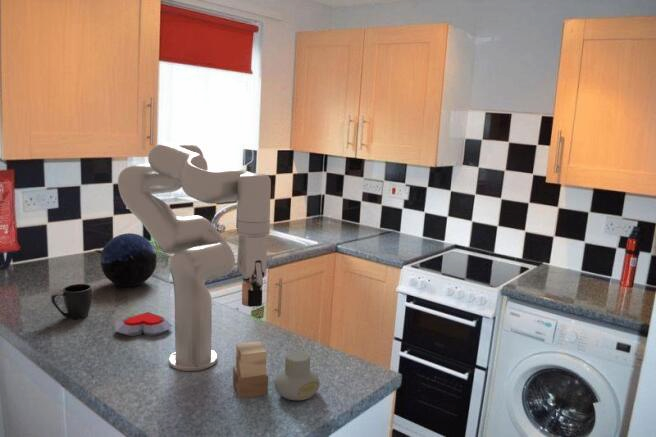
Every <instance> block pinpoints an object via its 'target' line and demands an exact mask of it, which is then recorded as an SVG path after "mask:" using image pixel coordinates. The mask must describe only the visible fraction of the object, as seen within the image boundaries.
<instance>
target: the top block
mask: <svg viewBox="0 0 656 437" xmlns="http://www.w3.org/2000/svg"><path fill="white" fill-rule="evenodd" d="M235 348H236V349H235V366H236V368H237V370H238V372H239V374H240V376H241V378H246V377H253V376H260V375H266V373H267V350H266V348H265V347H264V345H263V344H262V342H261V341H260V340H259V341H250V342H243V343H236V346H235Z"/></svg>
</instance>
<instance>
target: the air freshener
mask: <svg viewBox="0 0 656 437" xmlns="http://www.w3.org/2000/svg"><path fill="white" fill-rule="evenodd" d="M284 364H285V366H284V369H282V370H281V371H279V373H277V375H276V376H275V378H274V381H273V382H274V384H273V385H274V388H275V391H276V393H278V394H279V395H280V396H281V397H283V398H284V399H287V400H291V401H304V400H307V399H309V398H311V397H312V396H314V395H315V394H317V392H318V390H319V388H320V379H319V376H318V375H317V374H316V373H315V372H314V371H313V370H311V356H310V355H309V354H308V353H307V352H304V351H291V352H289V353H287V355H286V356H285V362H284Z"/></svg>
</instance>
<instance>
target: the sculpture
mask: <svg viewBox="0 0 656 437" xmlns="http://www.w3.org/2000/svg"><path fill="white" fill-rule="evenodd" d="M171 327H173V324H172V323H171V322H169V320H167V319H166V318H165V317H163V316H160V315H157V314H154V313H153V312H149V311H147V312H146V311H145V312H143V313H140V314H137V315H132V316H130V317H129V316H128V317H126V318H125V319H122V320H121V321H120V322H119V323H116V325H114V329H115V332H117V333H118V334H121V335H124V336H129V337H134V336H138V335H141V334H144V335H147V336H151V337H152V336H158V335H162V334H163V333H165V332H166V331H168V330H169V329H170V328H171Z"/></svg>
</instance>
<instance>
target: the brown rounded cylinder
mask: <svg viewBox="0 0 656 437" xmlns="http://www.w3.org/2000/svg"><path fill="white" fill-rule="evenodd" d="M254 281H256V279H255V280H253V283H254ZM263 285H264V283H262V291H263V288H264V286H263ZM248 290H250V286H249V280H246V281H243V280H242V282H241V304H242V305H243V306H246V307H249V306H248Z"/></svg>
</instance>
